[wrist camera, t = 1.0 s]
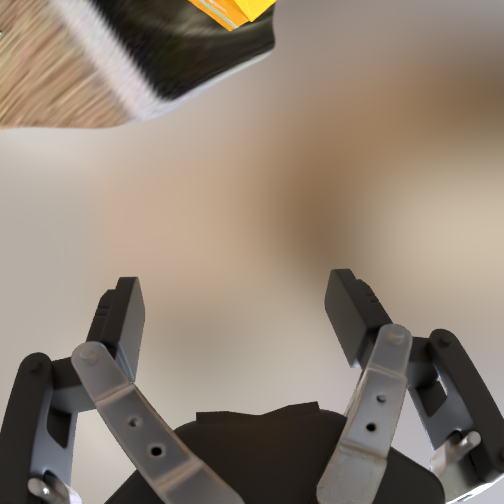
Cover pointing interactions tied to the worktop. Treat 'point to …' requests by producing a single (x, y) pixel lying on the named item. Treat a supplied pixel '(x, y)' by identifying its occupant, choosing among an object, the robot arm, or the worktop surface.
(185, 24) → the worktop surface
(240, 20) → the orange juice
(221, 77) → the worktop surface
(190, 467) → the robot arm
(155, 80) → the worktop surface
